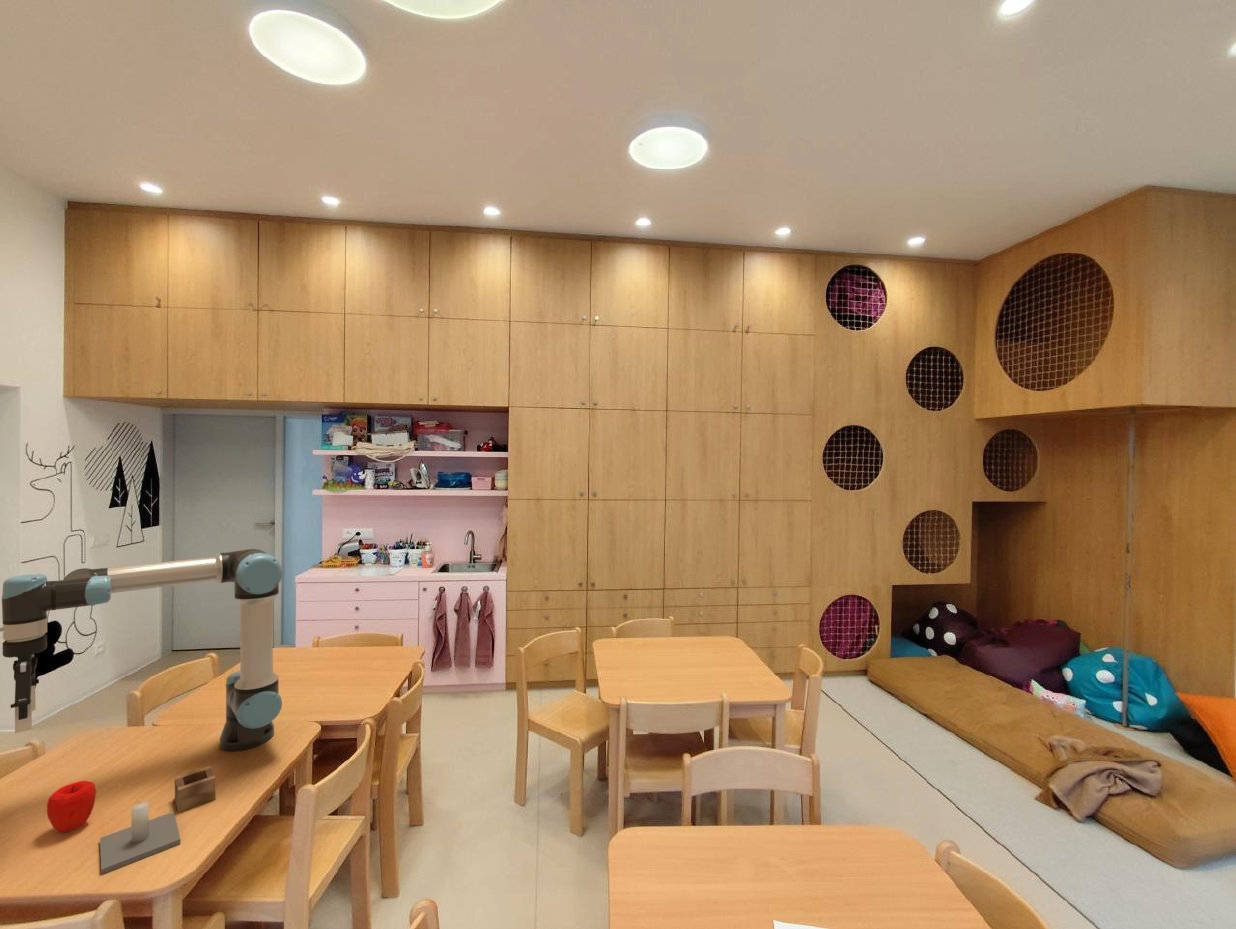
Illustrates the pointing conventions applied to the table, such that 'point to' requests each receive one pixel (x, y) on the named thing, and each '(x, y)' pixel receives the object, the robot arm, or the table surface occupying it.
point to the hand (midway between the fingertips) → (25, 721)
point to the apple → (71, 805)
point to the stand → (138, 839)
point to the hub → (194, 788)
